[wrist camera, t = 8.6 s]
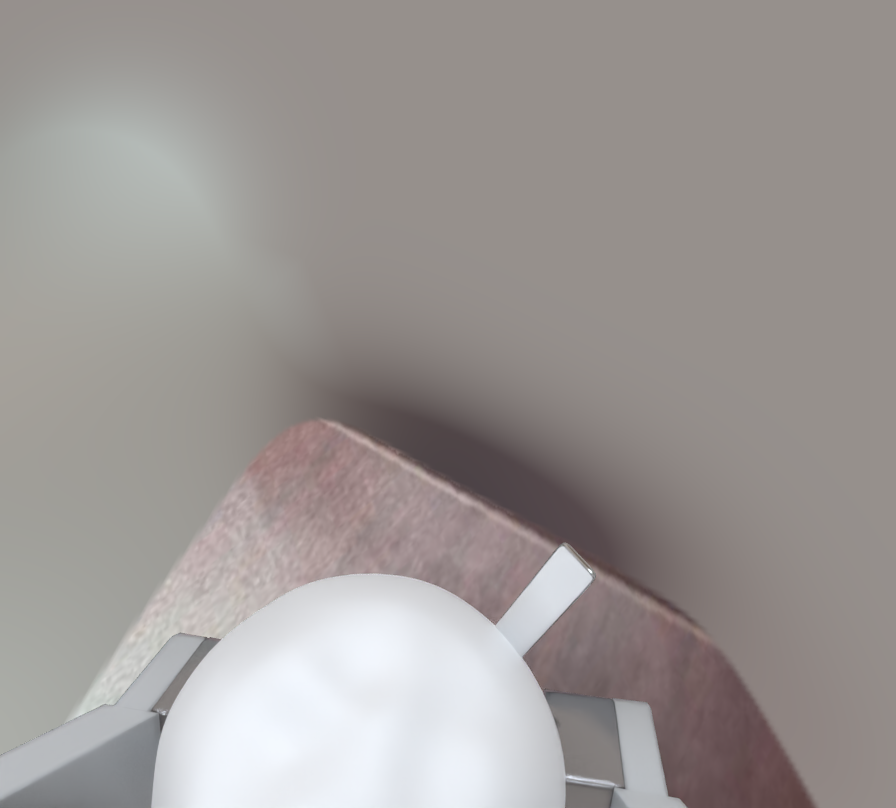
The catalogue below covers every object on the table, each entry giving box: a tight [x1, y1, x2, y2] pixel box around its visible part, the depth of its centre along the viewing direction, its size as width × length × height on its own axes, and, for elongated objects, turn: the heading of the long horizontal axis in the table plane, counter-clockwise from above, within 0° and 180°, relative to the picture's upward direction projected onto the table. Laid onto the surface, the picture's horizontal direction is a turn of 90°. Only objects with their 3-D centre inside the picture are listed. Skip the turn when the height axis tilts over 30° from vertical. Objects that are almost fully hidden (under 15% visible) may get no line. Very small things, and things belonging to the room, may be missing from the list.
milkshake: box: [151, 543, 596, 808], centre depth 10 cm, size 4×5×10 cm
